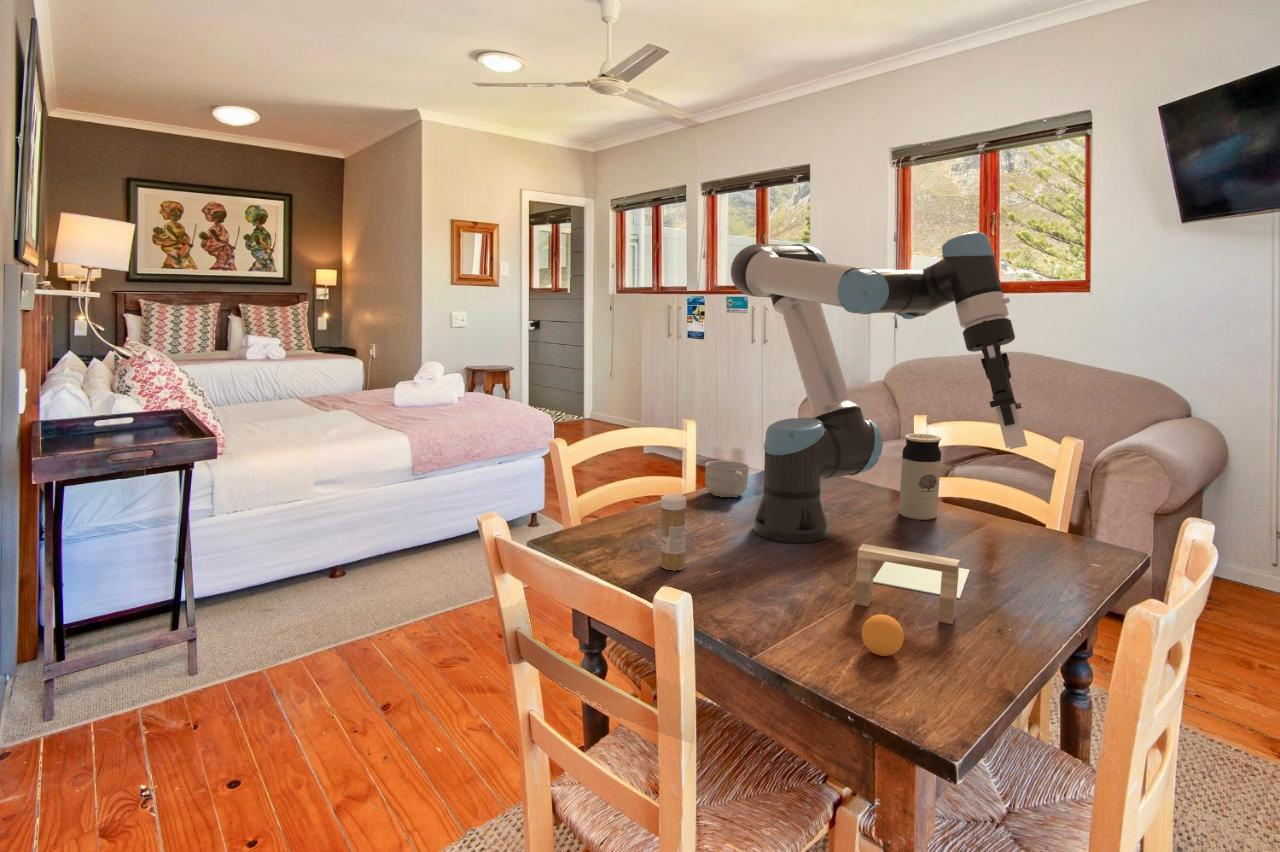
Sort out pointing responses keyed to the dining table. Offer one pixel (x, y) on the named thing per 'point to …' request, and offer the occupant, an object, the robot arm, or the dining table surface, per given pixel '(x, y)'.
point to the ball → (882, 635)
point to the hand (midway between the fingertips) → (1017, 447)
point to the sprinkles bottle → (673, 531)
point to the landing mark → (916, 578)
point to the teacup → (726, 478)
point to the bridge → (910, 559)
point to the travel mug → (920, 477)
